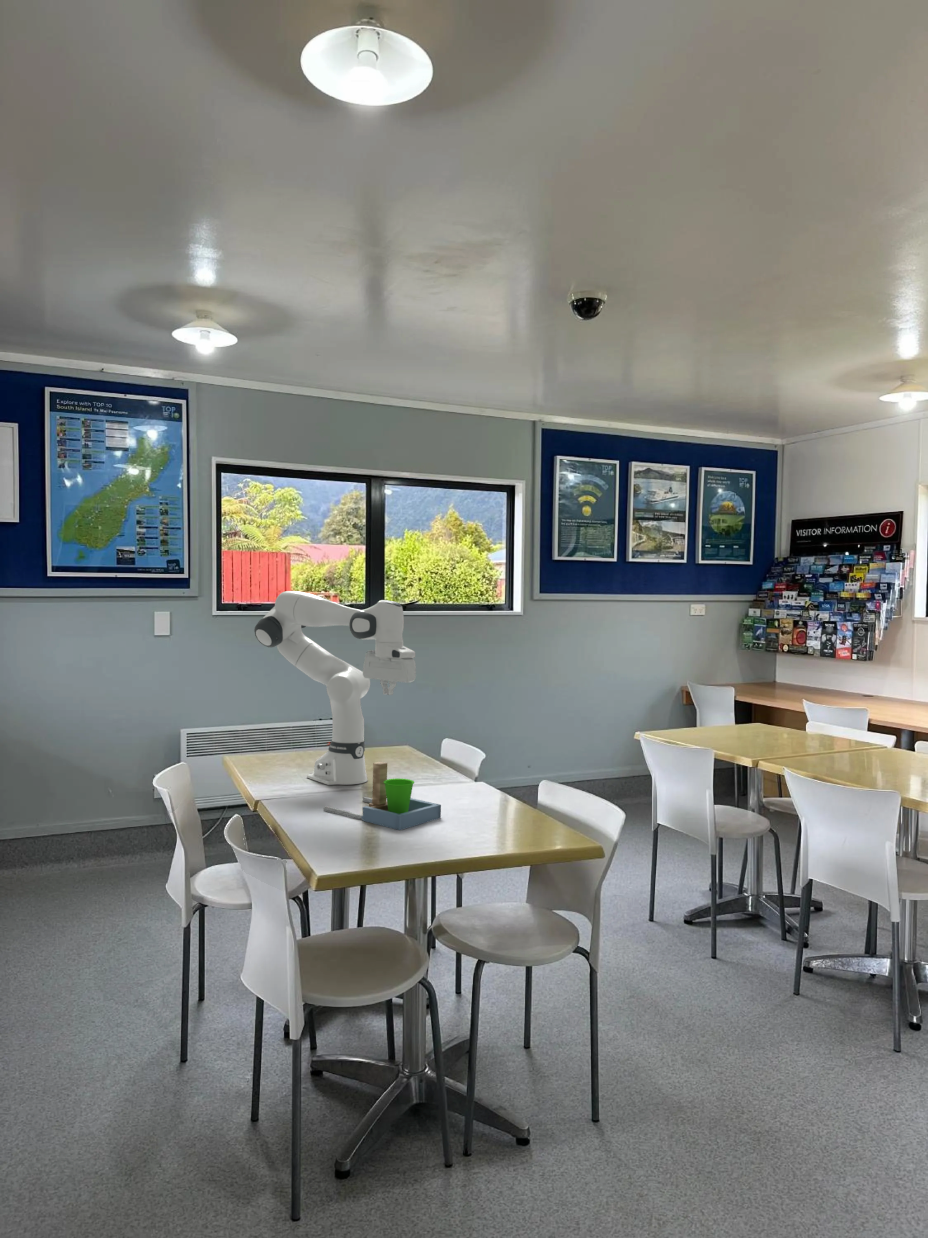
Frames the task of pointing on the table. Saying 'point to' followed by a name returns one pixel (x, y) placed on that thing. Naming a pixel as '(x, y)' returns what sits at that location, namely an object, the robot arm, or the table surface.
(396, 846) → the table surface
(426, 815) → the bay
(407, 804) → the cup
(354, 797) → the table surface
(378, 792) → the stepped wooden block
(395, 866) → the table surface
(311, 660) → the robot arm
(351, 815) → the track
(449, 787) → the table surface
